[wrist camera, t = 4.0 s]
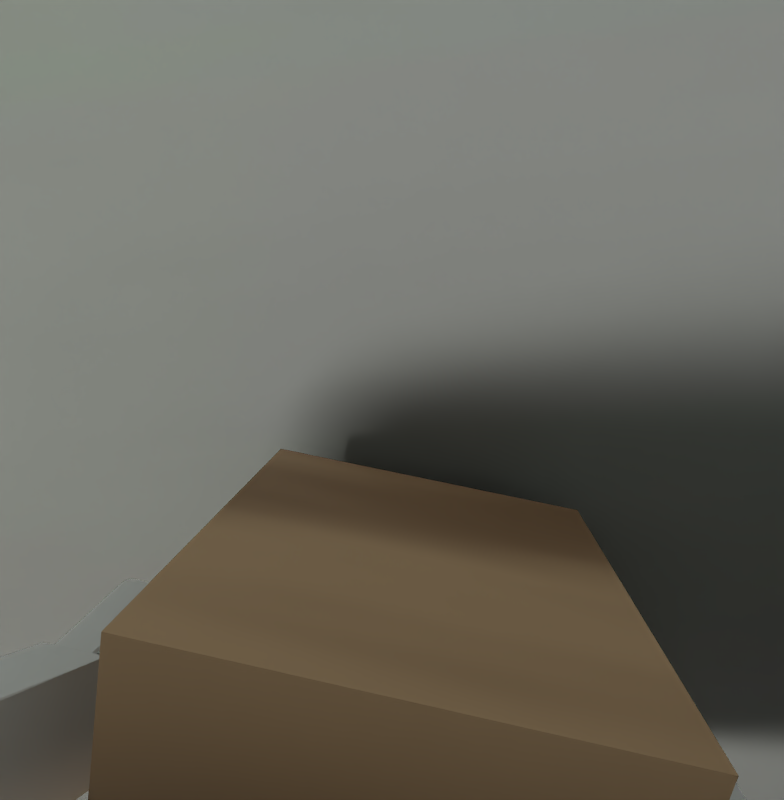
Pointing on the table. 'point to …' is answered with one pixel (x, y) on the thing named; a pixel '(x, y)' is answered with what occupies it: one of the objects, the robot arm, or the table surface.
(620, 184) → the table surface
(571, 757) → the tan cube
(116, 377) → the table surface
